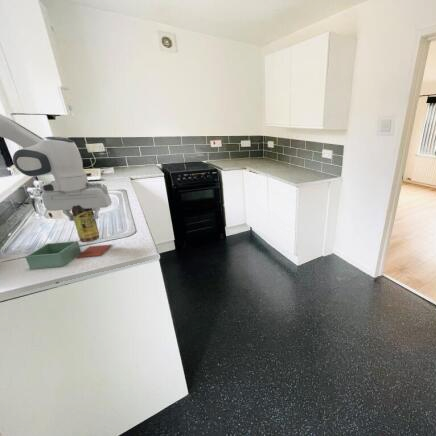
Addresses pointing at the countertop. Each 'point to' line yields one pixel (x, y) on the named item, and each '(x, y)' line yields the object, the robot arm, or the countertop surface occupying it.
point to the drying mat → (94, 251)
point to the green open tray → (53, 255)
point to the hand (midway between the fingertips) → (84, 219)
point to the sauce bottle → (85, 224)
